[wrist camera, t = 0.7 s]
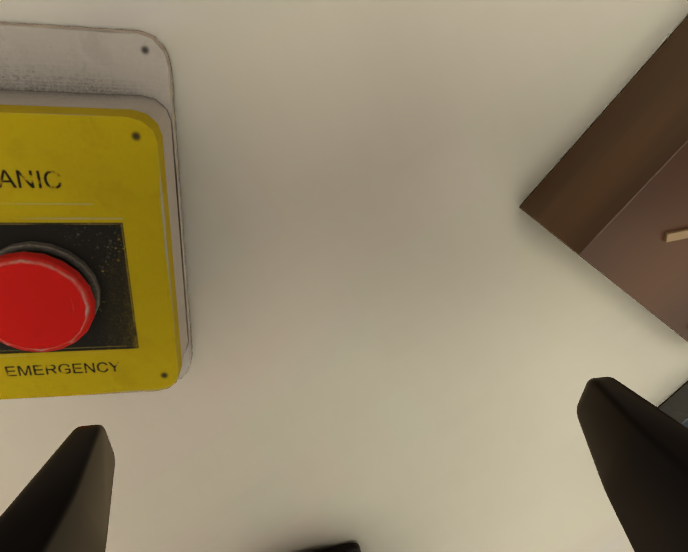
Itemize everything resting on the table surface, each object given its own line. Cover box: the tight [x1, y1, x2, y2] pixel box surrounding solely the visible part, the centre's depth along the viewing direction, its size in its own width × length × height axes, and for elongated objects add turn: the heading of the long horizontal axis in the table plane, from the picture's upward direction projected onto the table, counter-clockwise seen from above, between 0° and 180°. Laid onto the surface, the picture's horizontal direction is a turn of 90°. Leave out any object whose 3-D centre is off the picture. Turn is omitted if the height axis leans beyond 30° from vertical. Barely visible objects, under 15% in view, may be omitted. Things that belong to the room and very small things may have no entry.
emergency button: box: [0, 22, 192, 399], centre depth 20 cm, size 9×4×15 cm
